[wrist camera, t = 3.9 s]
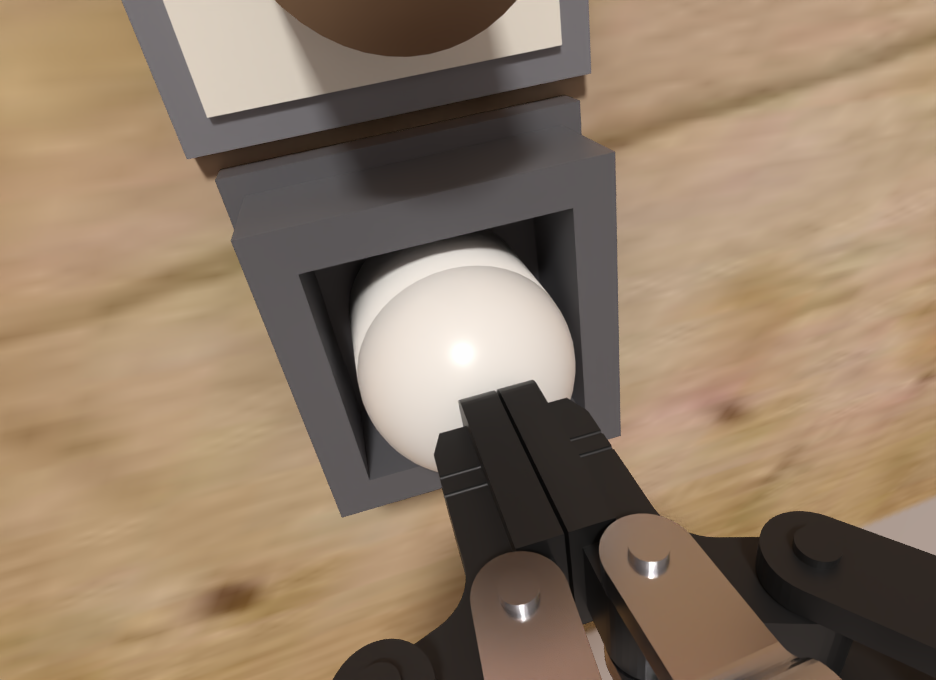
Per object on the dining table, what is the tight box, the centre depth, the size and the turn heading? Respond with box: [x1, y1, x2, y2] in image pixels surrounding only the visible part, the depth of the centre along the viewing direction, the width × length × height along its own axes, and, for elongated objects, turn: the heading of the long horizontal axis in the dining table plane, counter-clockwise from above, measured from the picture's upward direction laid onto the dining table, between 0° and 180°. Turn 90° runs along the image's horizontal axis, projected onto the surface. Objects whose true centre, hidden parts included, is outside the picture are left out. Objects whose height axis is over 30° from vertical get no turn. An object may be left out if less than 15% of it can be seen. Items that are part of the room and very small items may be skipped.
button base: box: [215, 95, 621, 517], centre depth 16 cm, size 9×9×4 cm
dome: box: [349, 229, 575, 472], centre depth 14 cm, size 5×5×6 cm
